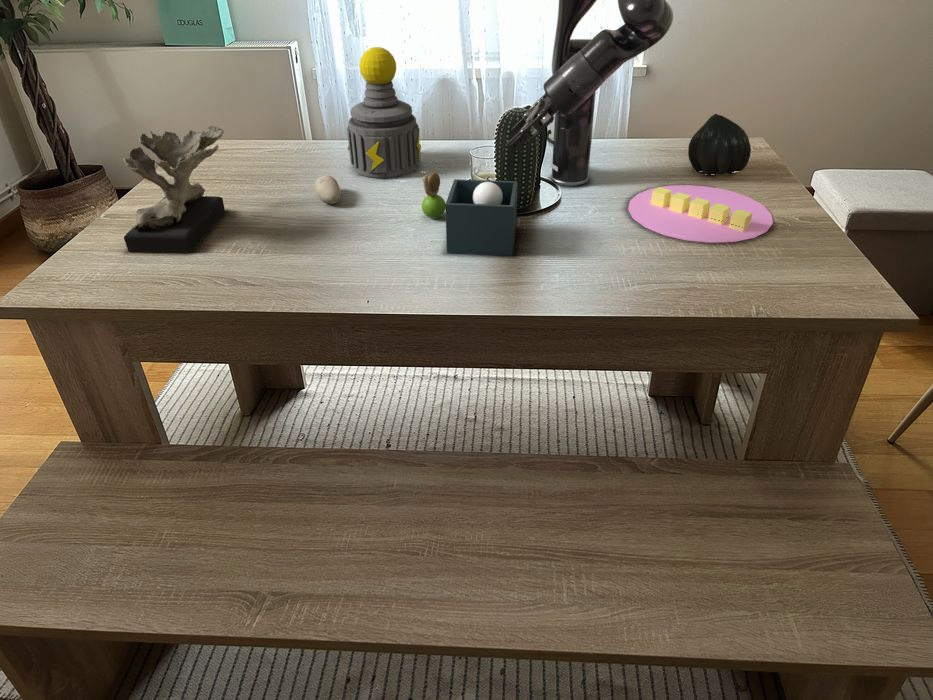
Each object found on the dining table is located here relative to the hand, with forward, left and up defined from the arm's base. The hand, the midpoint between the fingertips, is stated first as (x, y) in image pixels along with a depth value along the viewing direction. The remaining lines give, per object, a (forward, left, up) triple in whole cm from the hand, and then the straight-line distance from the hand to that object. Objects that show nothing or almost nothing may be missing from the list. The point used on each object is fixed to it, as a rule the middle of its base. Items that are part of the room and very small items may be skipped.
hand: (511, 141), depth 137 cm
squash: (-53, +41, -22) cm, 71 cm away
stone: (-11, -48, -22) cm, 53 cm away
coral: (+12, -70, -22) cm, 74 cm away
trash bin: (+1, -6, -21) cm, 22 cm away
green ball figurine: (-7, -20, -22) cm, 30 cm away
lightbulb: (+1, -5, -20) cm, 21 cm away
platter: (-26, +38, -22) cm, 51 cm away
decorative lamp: (-35, -43, -22) cm, 59 cm away
